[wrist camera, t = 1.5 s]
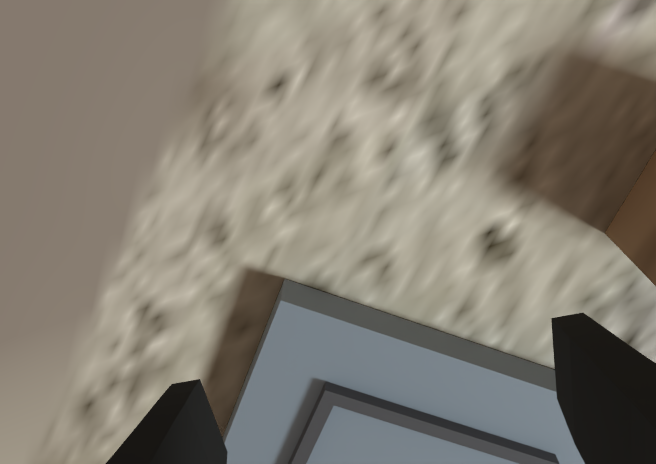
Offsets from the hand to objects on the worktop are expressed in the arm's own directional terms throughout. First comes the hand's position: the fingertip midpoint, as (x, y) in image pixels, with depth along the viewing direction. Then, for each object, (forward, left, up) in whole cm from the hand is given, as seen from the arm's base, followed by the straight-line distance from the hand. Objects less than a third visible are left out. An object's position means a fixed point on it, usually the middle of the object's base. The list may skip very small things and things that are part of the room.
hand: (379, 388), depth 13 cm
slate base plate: (-5, +10, -9) cm, 14 cm away
